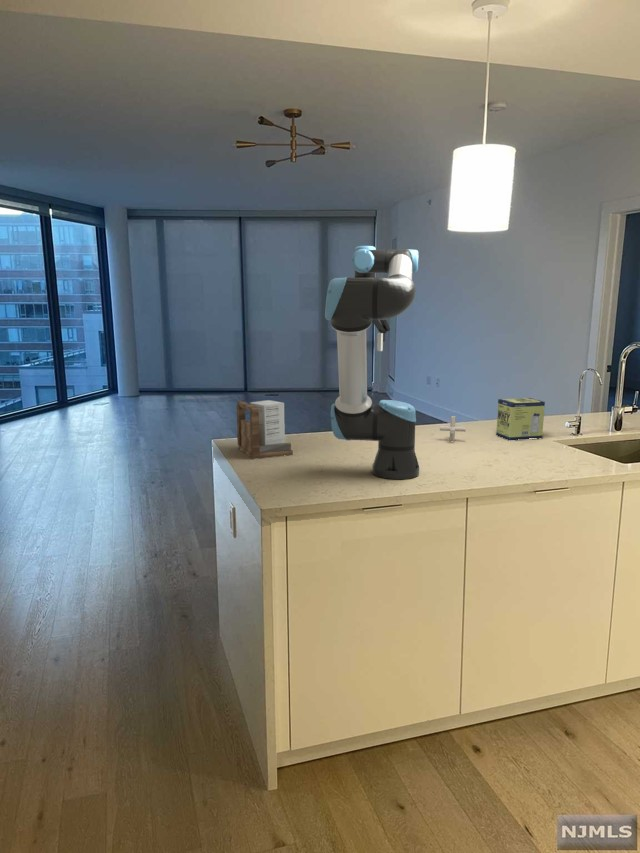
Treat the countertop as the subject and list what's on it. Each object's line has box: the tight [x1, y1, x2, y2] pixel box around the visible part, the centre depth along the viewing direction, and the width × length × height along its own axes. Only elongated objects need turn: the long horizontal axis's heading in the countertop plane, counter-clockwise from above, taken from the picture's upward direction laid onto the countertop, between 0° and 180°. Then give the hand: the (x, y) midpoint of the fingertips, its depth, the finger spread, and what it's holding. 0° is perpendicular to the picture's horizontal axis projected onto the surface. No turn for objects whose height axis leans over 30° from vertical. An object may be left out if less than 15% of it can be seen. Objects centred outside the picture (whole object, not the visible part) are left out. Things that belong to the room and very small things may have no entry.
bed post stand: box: [236, 400, 294, 460], centre depth 220 cm, size 18×15×18 cm
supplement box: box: [249, 399, 286, 446], centre depth 220 cm, size 10×9×17 cm
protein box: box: [495, 397, 546, 441], centre depth 246 cm, size 10×16×16 cm
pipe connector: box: [439, 416, 467, 442], centre depth 239 cm, size 10×10×10 cm
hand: (363, 351), depth 218 cm, fingers open, 13 cm apart
